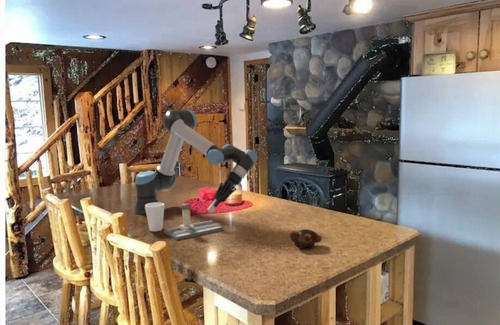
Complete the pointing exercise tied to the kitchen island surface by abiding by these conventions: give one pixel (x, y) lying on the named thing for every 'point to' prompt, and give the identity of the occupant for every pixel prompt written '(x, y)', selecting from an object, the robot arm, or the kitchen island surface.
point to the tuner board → (198, 227)
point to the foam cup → (155, 215)
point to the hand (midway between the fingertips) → (209, 211)
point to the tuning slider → (186, 217)
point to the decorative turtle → (305, 238)
